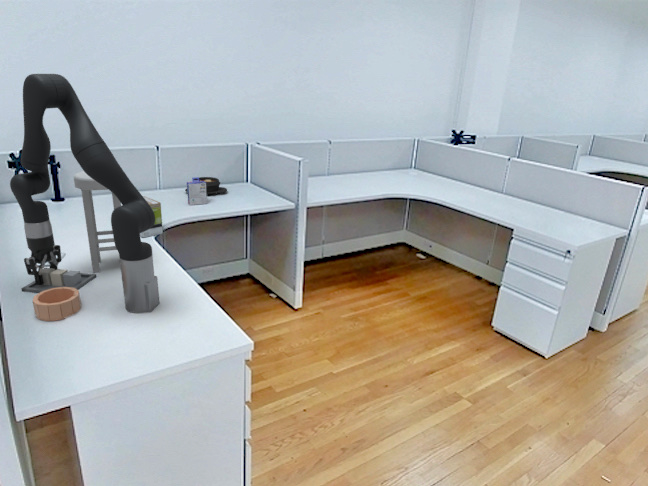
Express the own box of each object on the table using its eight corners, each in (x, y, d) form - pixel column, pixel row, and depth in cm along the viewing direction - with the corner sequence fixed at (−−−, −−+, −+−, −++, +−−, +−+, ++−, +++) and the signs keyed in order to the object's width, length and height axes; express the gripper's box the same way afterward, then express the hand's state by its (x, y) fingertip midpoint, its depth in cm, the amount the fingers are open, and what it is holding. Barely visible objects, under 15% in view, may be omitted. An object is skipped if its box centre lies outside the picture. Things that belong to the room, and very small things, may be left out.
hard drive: (56, 264, 164) (65, 252, 176) (31, 265, 162) (41, 253, 173) (57, 268, 165) (66, 255, 176) (32, 269, 163) (42, 256, 174)
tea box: (163, 233, 204) (161, 202, 198) (142, 238, 197) (139, 205, 191) (147, 225, 213) (145, 195, 208) (127, 229, 206) (123, 198, 201)
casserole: (183, 196, 264) (183, 182, 261) (186, 189, 281) (185, 176, 278) (227, 196, 269) (227, 183, 266) (227, 189, 286) (227, 176, 283)
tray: (97, 277, 158) (96, 274, 157) (68, 297, 144) (67, 293, 143) (54, 273, 160) (53, 269, 159) (22, 292, 146) (21, 288, 145)
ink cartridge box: (205, 201, 256) (203, 176, 251) (207, 204, 252) (206, 178, 247) (187, 202, 252) (185, 177, 247) (189, 205, 247) (188, 179, 242)
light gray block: (81, 283, 153) (80, 271, 151) (75, 288, 149) (73, 275, 148) (72, 282, 153) (70, 270, 151) (65, 286, 150) (62, 274, 148)
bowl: (89, 304, 141) (87, 289, 139) (64, 323, 130) (61, 307, 128) (54, 300, 142) (51, 285, 140) (26, 318, 131) (23, 302, 129)
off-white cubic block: (69, 282, 153) (67, 270, 152) (62, 286, 150) (60, 274, 148) (59, 281, 153) (57, 268, 152) (52, 285, 150) (50, 273, 149)
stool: (88, 260, 171) (75, 169, 159) (132, 256, 177) (123, 168, 165) (86, 277, 158) (71, 179, 146) (133, 271, 164) (123, 177, 152)
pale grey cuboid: (56, 280, 154) (54, 268, 152) (49, 285, 150) (47, 272, 149) (47, 279, 154) (44, 267, 152) (39, 284, 151) (37, 271, 149)
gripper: (33, 242, 139) (42, 290, 145) (64, 227, 152) (71, 272, 158) (11, 239, 140) (21, 288, 145) (44, 225, 153) (52, 270, 159)
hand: (47, 279), depth 152 cm, fingers open, 6 cm apart
